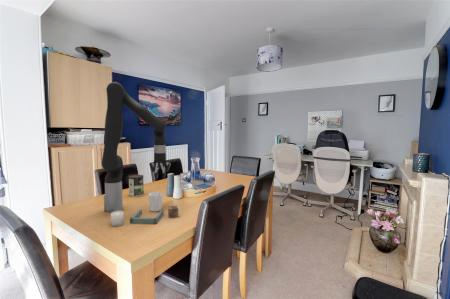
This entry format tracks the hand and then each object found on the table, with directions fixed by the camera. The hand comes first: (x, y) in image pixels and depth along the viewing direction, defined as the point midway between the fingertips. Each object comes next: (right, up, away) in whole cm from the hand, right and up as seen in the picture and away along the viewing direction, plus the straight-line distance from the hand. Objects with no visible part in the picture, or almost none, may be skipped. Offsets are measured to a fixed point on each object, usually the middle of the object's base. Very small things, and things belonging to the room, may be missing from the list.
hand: (160, 178), depth 144 cm
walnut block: (+12, -19, -17) cm, 29 cm away
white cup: (0, -18, -8) cm, 20 cm away
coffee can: (-24, -15, +21) cm, 35 cm away
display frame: (-1, -19, -21) cm, 29 cm away
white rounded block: (-14, -20, -29) cm, 38 cm away
